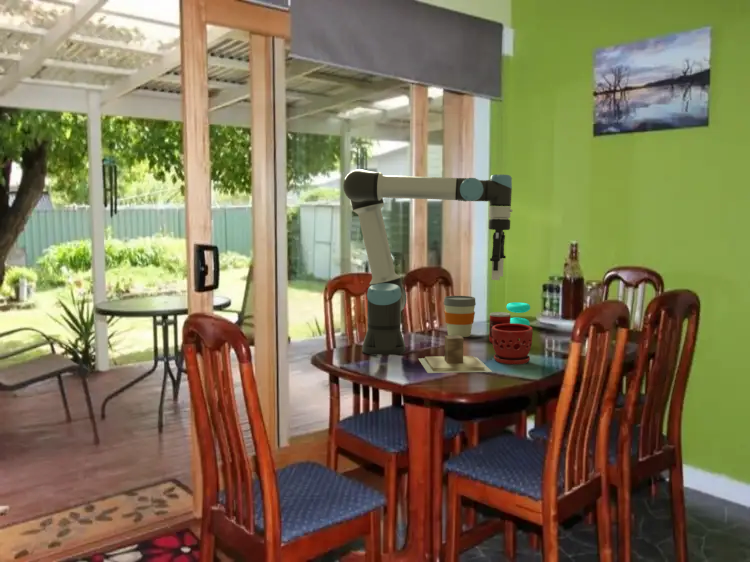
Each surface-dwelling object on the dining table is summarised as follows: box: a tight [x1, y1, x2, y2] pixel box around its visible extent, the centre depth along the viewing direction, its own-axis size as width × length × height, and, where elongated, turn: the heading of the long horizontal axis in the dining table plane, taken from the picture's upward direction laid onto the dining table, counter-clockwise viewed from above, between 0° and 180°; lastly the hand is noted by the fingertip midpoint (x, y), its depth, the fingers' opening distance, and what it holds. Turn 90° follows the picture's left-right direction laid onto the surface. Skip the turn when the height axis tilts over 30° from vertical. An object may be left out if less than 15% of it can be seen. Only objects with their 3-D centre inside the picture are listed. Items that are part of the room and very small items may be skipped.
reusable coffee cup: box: [443, 295, 477, 338], centre depth 269 cm, size 13×13×15 cm
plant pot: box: [491, 323, 534, 365], centre depth 222 cm, size 13×13×12 cm
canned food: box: [488, 311, 511, 344], centre depth 255 cm, size 8×8×11 cm
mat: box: [417, 356, 493, 374], centre depth 217 cm, size 20×20×1 cm
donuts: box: [506, 302, 531, 326], centre depth 289 cm, size 10×10×10 cm
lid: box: [424, 335, 484, 371], centre depth 216 cm, size 16×16×9 cm
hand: (497, 278), depth 243 cm, fingers open, 13 cm apart
